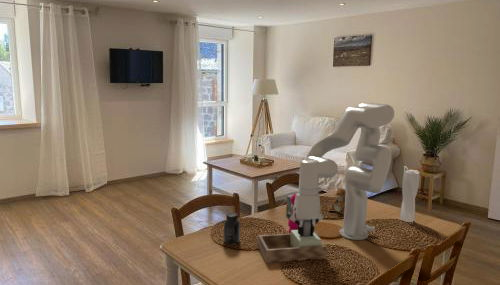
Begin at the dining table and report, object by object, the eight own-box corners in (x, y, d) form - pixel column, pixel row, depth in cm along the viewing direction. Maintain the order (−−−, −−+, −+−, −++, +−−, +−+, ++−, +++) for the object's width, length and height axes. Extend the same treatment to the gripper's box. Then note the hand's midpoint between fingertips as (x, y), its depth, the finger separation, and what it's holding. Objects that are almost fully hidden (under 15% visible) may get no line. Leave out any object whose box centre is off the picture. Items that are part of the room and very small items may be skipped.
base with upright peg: (310, 242, 158) (312, 215, 156) (320, 254, 147) (322, 225, 145) (290, 243, 156) (291, 216, 154) (298, 255, 145) (300, 226, 143)
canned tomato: (286, 213, 195) (287, 192, 194) (301, 214, 194) (302, 193, 193) (285, 218, 188) (286, 197, 186) (301, 219, 187) (302, 198, 185)
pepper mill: (303, 237, 165) (305, 194, 162) (286, 235, 167) (288, 192, 164) (304, 231, 172) (306, 189, 169) (288, 229, 174) (290, 188, 170)
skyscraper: (395, 220, 189) (400, 166, 184) (402, 217, 194) (407, 164, 189) (410, 225, 183) (416, 169, 179) (417, 221, 188) (423, 167, 184)
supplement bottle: (242, 241, 160) (243, 214, 158) (231, 246, 155) (232, 218, 153) (231, 236, 164) (232, 210, 162) (220, 241, 160) (220, 214, 158)
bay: (312, 243, 160) (313, 232, 159) (325, 258, 146) (326, 246, 145) (258, 246, 155) (258, 235, 154) (266, 262, 141) (266, 250, 141)
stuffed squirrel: (326, 211, 199) (327, 187, 197) (339, 205, 210) (341, 183, 207) (342, 216, 193) (344, 192, 190) (356, 210, 203) (357, 186, 201)
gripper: (324, 187, 153) (321, 230, 156) (285, 189, 150) (283, 232, 153) (331, 193, 146) (328, 237, 149) (291, 194, 142) (288, 240, 145)
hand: (305, 234), depth 151 cm, fingers closed on base with upright peg, 3 cm apart
